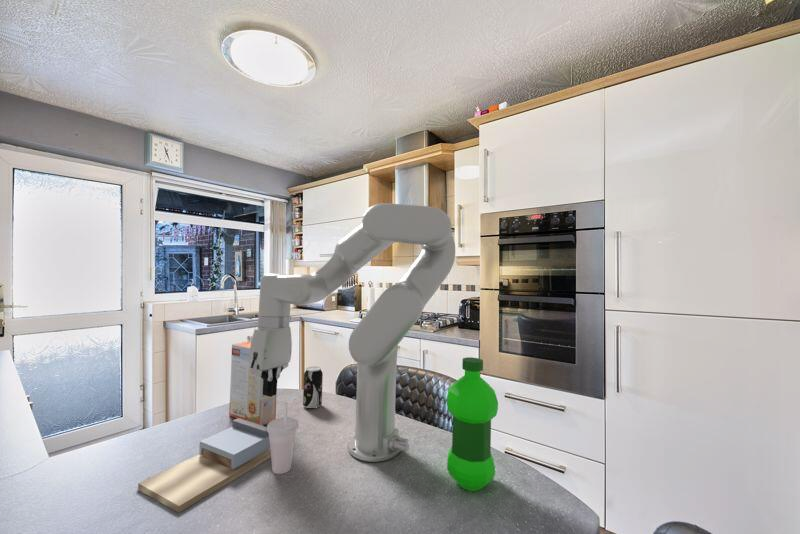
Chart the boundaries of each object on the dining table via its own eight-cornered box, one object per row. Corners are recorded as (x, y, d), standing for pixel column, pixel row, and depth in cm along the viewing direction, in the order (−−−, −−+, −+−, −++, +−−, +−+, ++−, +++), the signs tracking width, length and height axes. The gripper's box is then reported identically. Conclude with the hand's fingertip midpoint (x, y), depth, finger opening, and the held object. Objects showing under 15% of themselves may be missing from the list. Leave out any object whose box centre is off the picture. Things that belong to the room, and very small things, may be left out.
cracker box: (277, 420, 94) (279, 346, 95) (258, 428, 89) (260, 350, 90) (247, 409, 102) (249, 340, 102) (228, 415, 96) (230, 343, 97)
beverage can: (319, 410, 102) (320, 371, 102) (300, 410, 102) (301, 370, 102) (323, 403, 108) (324, 366, 108) (305, 402, 108) (307, 365, 108)
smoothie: (287, 480, 67) (289, 410, 68) (258, 475, 69) (261, 407, 69) (302, 462, 74) (304, 399, 74) (276, 458, 75) (278, 396, 75)
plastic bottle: (465, 505, 61) (468, 369, 62) (435, 474, 71) (438, 356, 71) (507, 491, 65) (509, 364, 66) (473, 463, 75) (475, 352, 76)
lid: (270, 448, 77) (271, 428, 77) (233, 469, 68) (234, 447, 68) (237, 436, 82) (238, 417, 82) (199, 455, 73) (200, 434, 73)
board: (280, 451, 78) (281, 438, 78) (178, 512, 58) (179, 495, 58) (242, 437, 84) (243, 425, 84) (138, 489, 63) (138, 473, 63)
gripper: (285, 317, 93) (281, 383, 92) (238, 323, 79) (233, 401, 79) (305, 320, 89) (301, 389, 89) (260, 327, 76) (255, 408, 76)
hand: (269, 394), depth 84 cm, fingers closed
